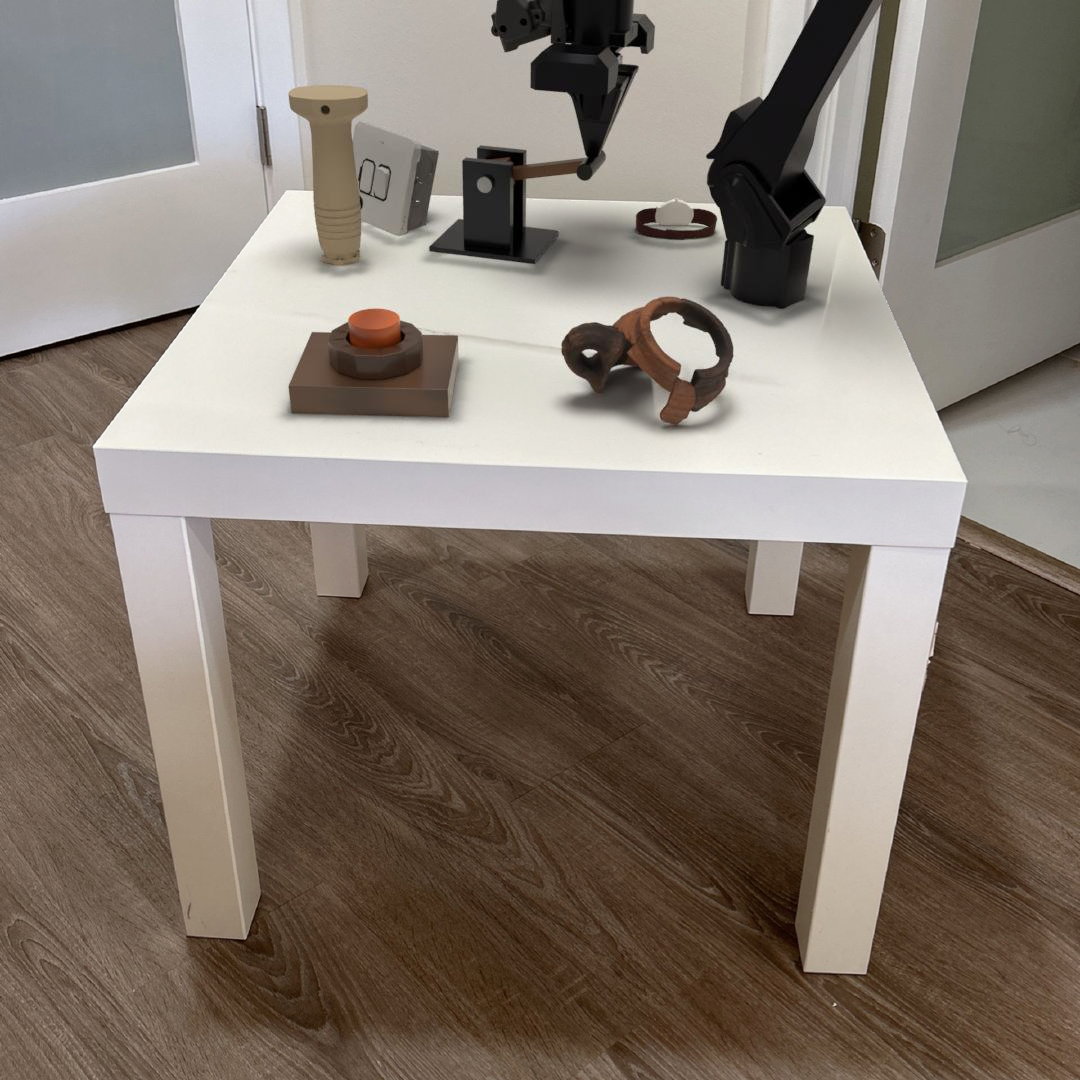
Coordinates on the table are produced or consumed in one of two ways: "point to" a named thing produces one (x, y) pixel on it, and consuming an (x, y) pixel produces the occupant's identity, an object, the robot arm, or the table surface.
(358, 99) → the handle
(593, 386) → the brown curved ring piece
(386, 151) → the electrical switch
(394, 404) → the button block
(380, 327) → the button
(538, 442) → the table surface
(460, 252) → the bracket
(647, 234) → the watch
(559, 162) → the lever
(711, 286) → the table surface
